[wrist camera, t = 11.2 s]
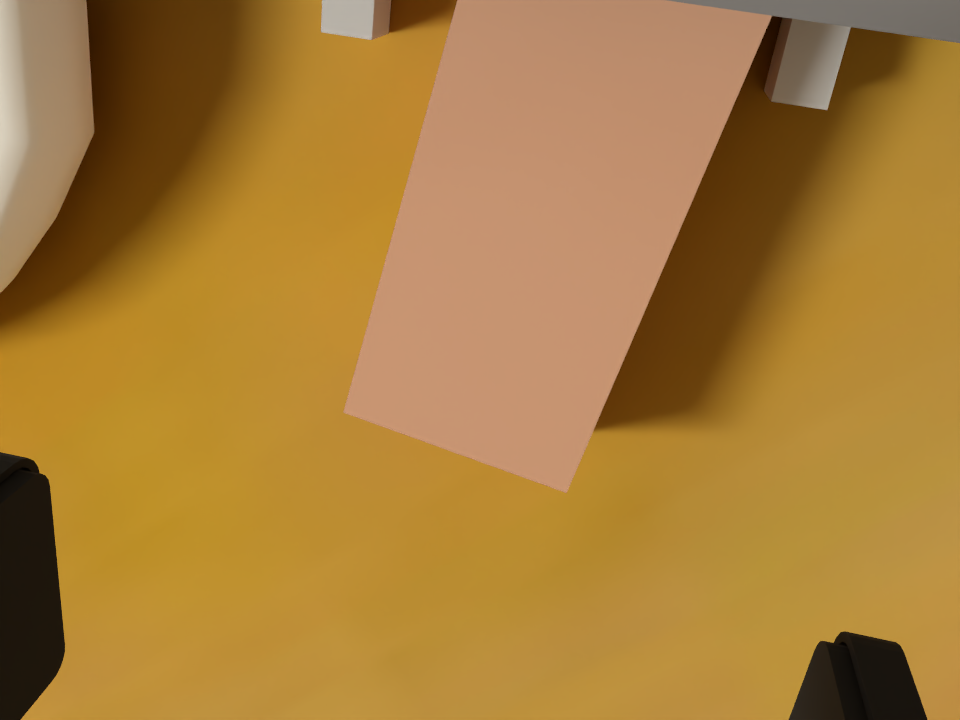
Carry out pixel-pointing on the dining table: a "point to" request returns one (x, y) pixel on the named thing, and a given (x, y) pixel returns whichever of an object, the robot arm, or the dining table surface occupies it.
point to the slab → (543, 219)
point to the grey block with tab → (801, 3)
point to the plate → (40, 118)
